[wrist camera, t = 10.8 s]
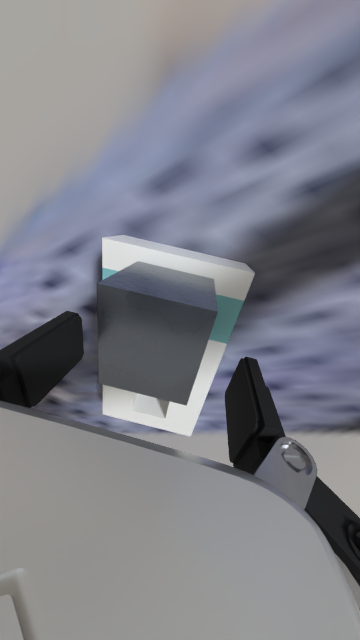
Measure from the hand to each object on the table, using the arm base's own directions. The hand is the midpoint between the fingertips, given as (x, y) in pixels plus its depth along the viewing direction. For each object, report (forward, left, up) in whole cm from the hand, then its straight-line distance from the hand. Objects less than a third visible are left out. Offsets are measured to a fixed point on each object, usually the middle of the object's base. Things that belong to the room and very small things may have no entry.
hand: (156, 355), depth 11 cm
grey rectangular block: (0, 0, -10) cm, 10 cm away
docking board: (+1, +6, -10) cm, 12 cm away
